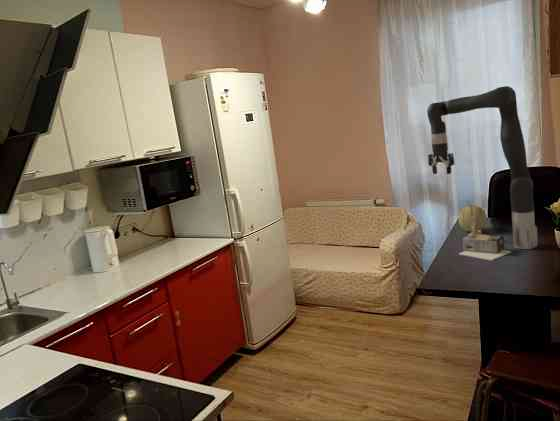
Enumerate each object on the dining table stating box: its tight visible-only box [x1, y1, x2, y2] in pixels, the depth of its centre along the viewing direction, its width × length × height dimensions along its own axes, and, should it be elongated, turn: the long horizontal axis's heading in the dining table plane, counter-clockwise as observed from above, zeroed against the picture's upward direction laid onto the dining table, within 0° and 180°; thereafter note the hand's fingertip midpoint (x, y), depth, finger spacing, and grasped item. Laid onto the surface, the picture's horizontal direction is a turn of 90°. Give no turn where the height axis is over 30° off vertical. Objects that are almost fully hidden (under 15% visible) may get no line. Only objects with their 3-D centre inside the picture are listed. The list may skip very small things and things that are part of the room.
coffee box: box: [462, 233, 505, 253], centre depth 217 cm, size 9×6×16 cm
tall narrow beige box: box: [467, 216, 483, 235], centre depth 233 cm, size 2×8×13 cm, turn 122°
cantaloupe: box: [458, 204, 488, 233], centre depth 250 cm, size 15×15×15 cm
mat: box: [458, 249, 512, 261], centre depth 213 cm, size 17×15×1 cm
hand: (441, 173), depth 234 cm, fingers open, 8 cm apart
